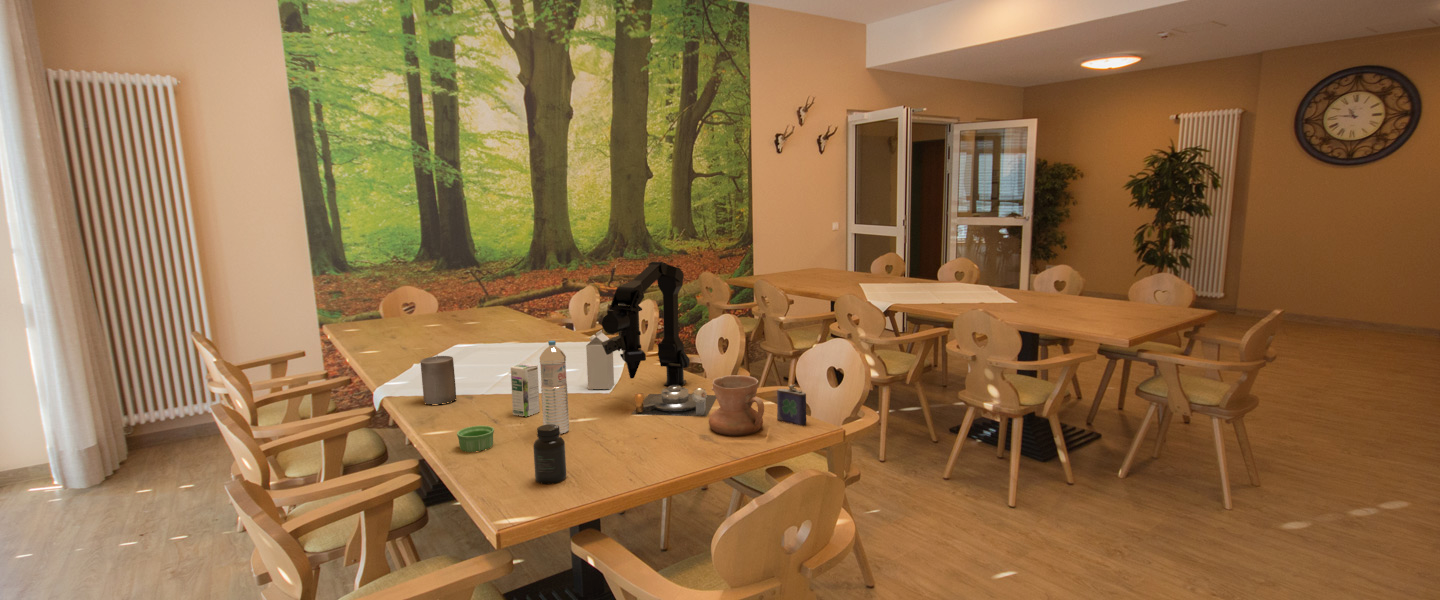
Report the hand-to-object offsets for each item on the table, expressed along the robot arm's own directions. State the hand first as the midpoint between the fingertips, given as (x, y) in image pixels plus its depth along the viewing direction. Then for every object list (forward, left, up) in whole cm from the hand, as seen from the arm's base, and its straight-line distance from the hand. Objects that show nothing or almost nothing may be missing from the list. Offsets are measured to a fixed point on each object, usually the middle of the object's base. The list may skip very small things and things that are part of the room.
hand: (632, 378), depth 217 cm
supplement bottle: (+59, -3, -9) cm, 60 cm away
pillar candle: (+2, -62, -9) cm, 63 cm away
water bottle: (+27, -14, -9) cm, 32 cm away
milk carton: (-19, -16, -9) cm, 26 cm away
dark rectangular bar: (+11, +23, -7) cm, 26 cm away
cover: (+2, +14, -6) cm, 15 cm away
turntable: (+4, +12, -7) cm, 14 cm away
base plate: (+2, +14, -8) cm, 16 cm away
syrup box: (+12, -29, -9) cm, 33 cm away
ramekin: (+41, -30, -9) cm, 51 cm away
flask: (+13, +49, -9) cm, 51 cm away
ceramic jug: (+23, +35, -9) cm, 43 cm away
